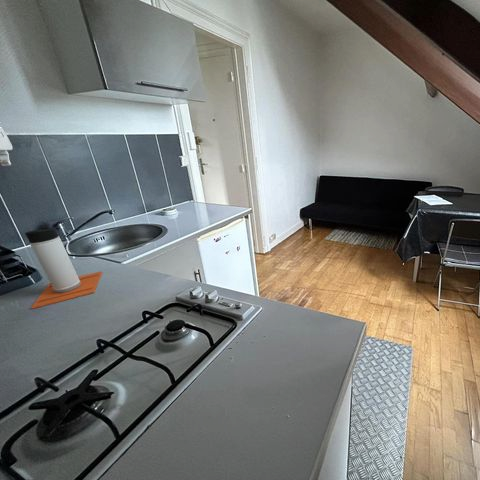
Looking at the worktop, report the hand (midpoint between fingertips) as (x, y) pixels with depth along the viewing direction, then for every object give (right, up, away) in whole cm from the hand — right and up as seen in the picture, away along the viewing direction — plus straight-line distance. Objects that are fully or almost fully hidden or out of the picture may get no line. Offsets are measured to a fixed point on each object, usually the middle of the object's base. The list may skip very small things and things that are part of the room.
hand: (0, 166), depth 80 cm
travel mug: (+20, -38, +2) cm, 43 cm away
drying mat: (+20, -38, +2) cm, 43 cm away
